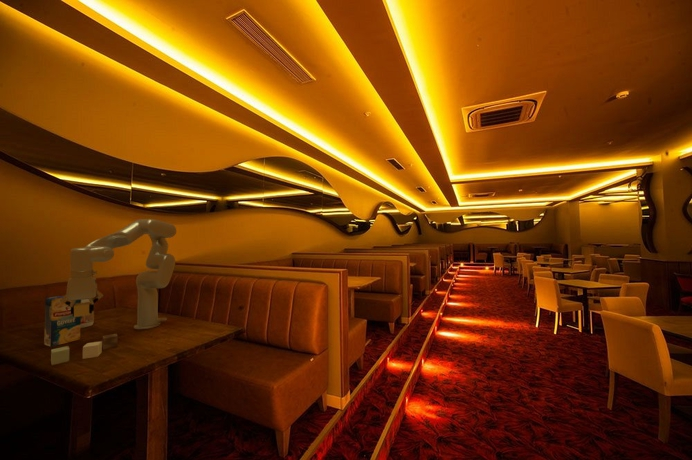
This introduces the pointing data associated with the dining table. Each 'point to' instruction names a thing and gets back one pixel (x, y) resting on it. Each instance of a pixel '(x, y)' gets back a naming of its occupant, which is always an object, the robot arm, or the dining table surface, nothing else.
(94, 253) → the robot arm
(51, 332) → the blue cardboard box
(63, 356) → the sage cube
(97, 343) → the cream cube
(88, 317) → the fruit juice
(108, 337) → the walnut cube
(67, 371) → the dining table surface
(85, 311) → the ochre cube
